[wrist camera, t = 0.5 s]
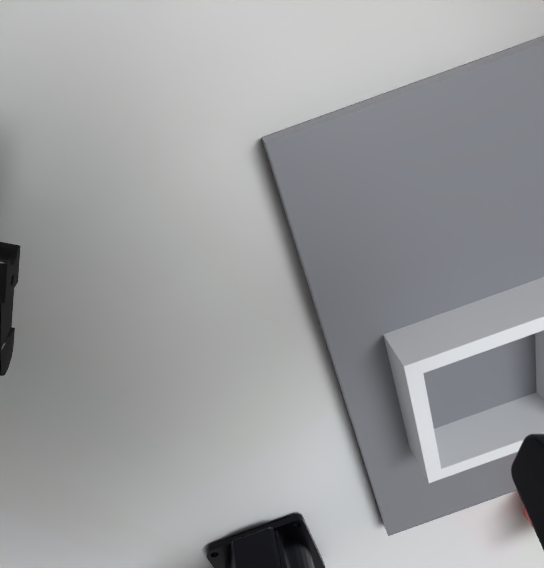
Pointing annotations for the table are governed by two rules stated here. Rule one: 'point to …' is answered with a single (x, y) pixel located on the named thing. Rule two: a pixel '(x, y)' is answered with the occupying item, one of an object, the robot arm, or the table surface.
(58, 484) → the table surface
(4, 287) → the circuit breaker
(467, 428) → the panel
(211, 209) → the table surface
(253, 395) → the table surface
